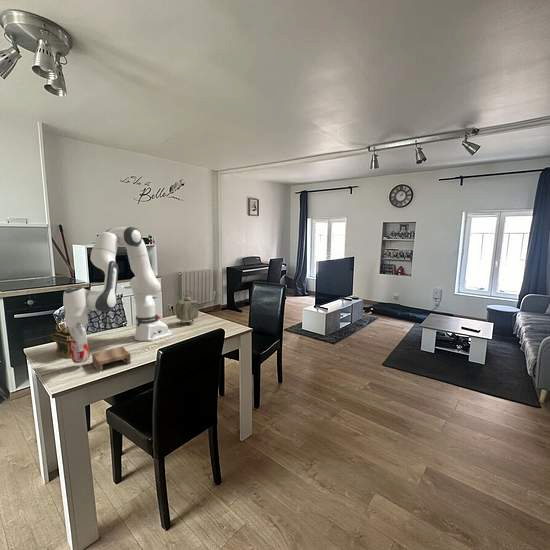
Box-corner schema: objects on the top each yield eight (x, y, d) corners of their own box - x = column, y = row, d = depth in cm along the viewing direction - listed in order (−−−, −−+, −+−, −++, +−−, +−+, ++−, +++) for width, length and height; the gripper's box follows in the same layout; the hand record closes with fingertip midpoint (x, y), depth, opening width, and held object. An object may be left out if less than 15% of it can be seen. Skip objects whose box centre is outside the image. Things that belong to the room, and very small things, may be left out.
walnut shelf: (122, 355, 154) (122, 346, 153) (130, 363, 145) (130, 354, 144) (92, 362, 144) (92, 353, 144) (99, 372, 135) (98, 361, 134)
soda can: (91, 360, 140) (88, 337, 138) (74, 365, 135) (71, 341, 132) (87, 356, 144) (84, 333, 142) (70, 361, 139) (67, 338, 137)
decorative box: (88, 353, 156) (86, 318, 153) (69, 360, 147) (67, 323, 144) (66, 346, 164) (63, 313, 161) (47, 352, 155) (44, 317, 153)
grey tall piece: (193, 320, 220) (193, 288, 216) (199, 323, 214) (199, 290, 210) (175, 324, 209) (175, 291, 206) (182, 327, 203) (181, 293, 200)
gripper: (89, 324, 131) (92, 353, 133) (80, 315, 145) (82, 341, 147) (73, 327, 127) (75, 357, 129) (64, 317, 141) (67, 344, 143)
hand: (79, 348), depth 138 cm, fingers closed on soda can, 7 cm apart
